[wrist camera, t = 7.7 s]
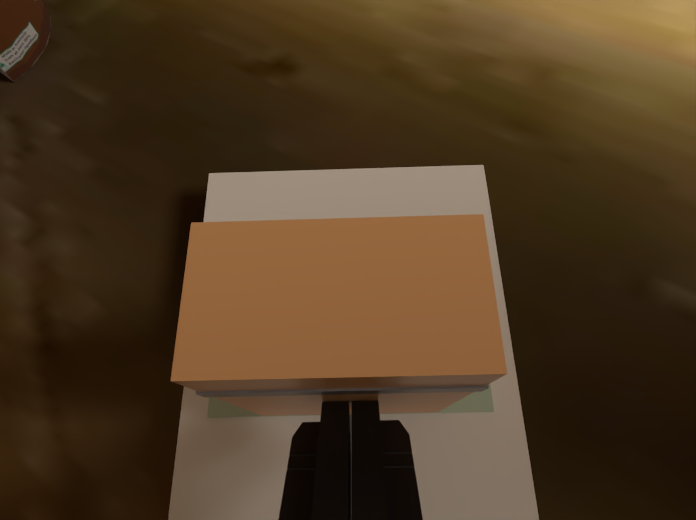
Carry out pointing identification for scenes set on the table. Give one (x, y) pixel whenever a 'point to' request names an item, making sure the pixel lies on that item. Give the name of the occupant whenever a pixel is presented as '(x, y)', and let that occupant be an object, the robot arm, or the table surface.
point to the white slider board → (424, 428)
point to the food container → (22, 35)
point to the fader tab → (339, 313)
